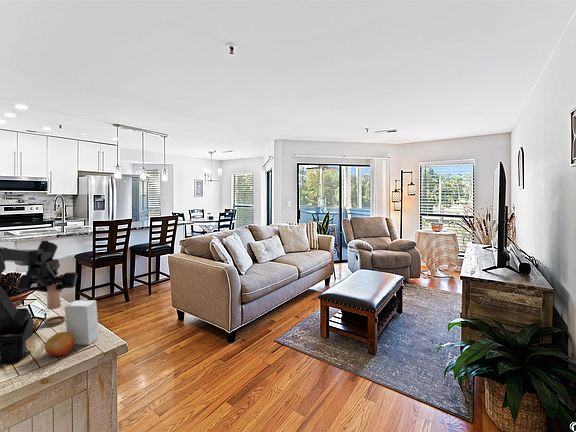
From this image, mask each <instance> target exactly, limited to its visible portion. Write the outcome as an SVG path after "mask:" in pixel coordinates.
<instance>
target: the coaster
mask: <svg viewBox="0 0 576 432" xmlns="http://www.w3.org/2000/svg"><path fill="white" fill-rule="evenodd" d="M64 323H66V316H63V315H59V316H58V315H56V316H52V317H48V318H46V319H45V320H44V321H43V325H44V326H45V327H55V326H60V325H61V324H64Z"/></svg>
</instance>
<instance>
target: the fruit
mask: <svg viewBox="0 0 576 432" xmlns="http://www.w3.org/2000/svg"><path fill="white" fill-rule="evenodd" d="M73 349H74V337H73V335H72V334H71V333H70V332H67V331H62V332H61V331H60V332H57V333H55V334H53V335H51V337H50V338H48V339H47V341H46V342H45V343H44V351H45V352H46V353H47V354H48V355H49V356H50V357H64V356H66V355H69V354H70V353H71V352H72V351H73Z"/></svg>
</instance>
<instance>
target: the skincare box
mask: <svg viewBox="0 0 576 432" xmlns="http://www.w3.org/2000/svg"><path fill="white" fill-rule="evenodd" d="M64 313H65V316H64V317H65V324H66V325H65V327H66V332H70V333H71V334H72V335H73V337H74V345H76V346H77V345H82V346H83V345H84V346H86V345H87V346H89V345H91V344H92V343H94V342H95V341H96V340H97V339H99V338H100V331H99V321H98V320H99V319H98V307H97V300H95V299H92V300H74V301H72V302H70V303H68V304H67V305H65V306H64ZM74 345H73V346H74Z"/></svg>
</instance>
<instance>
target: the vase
mask: <svg viewBox="0 0 576 432" xmlns="http://www.w3.org/2000/svg"><path fill="white" fill-rule="evenodd" d="M56 276H59V274H58V275H56ZM56 288H57V284H53V286H47V293H46V309H47V310H56V309H59V308H61V300H62V299H61V292H60V291H58V290H57V289H56Z"/></svg>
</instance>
